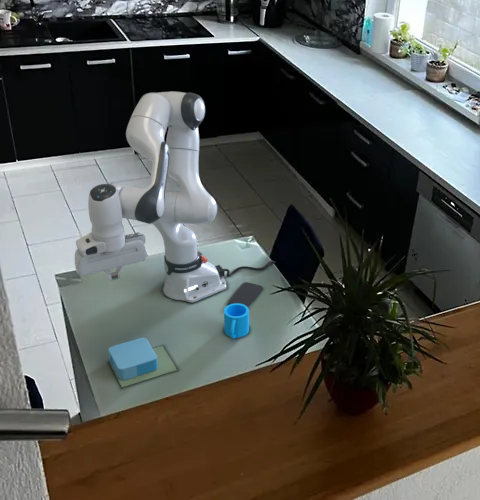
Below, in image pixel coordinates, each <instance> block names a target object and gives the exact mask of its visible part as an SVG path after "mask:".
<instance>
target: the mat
mask: <svg viewBox="0 0 480 500" xmlns="http://www.w3.org/2000/svg"><path fill="white" fill-rule="evenodd" d="M152 349H153V351H154V352H155V354H156V356H157V364H158V368H157V369H156V370H155V371H152V372H149V373H145V374H142V375H139V376H136V377H133V378H130V379H127V380H120V379H119V378H118V376H117V374H116V372H115V370H114V368H113V366H112V364H111V362H110V360H109V361H108V364H109V365H110V367H111V369H112V371H113V373H114V375H115V378H116V379H117V381H118V383H119V385H120V387H121V388H122V389H123V388H126V387H130V386H132V385H135V384H138V383H141V382H142V383H143V382H144V381H148V380H151V379H155V378H157V377H161V376H164V375H166V374H170V373H172V372H173V373H174V372H175V371H177V370H178V369H177V367H176V366H175V364H174V362H173V360H172V359H171V357H170V356H169V354H168V352H167V351H166V349H165V348H164V346H163V345H160V346H157V347H152Z"/></svg>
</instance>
